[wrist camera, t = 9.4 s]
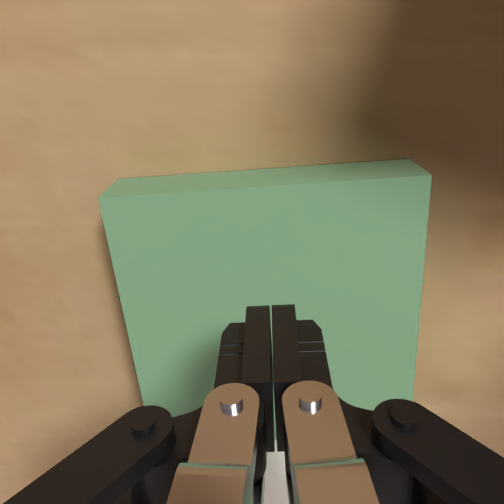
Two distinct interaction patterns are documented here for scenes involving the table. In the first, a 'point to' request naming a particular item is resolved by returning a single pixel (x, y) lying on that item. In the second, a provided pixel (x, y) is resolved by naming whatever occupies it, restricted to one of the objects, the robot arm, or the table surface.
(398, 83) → the table surface
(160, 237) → the green
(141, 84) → the table surface
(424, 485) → the robot arm
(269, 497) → the ball
